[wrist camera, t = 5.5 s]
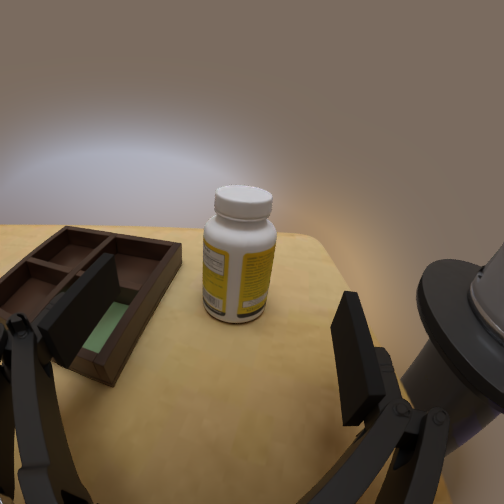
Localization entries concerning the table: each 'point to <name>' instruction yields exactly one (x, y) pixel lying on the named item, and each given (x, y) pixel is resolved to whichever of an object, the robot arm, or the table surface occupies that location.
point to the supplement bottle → (238, 253)
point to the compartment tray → (72, 267)
